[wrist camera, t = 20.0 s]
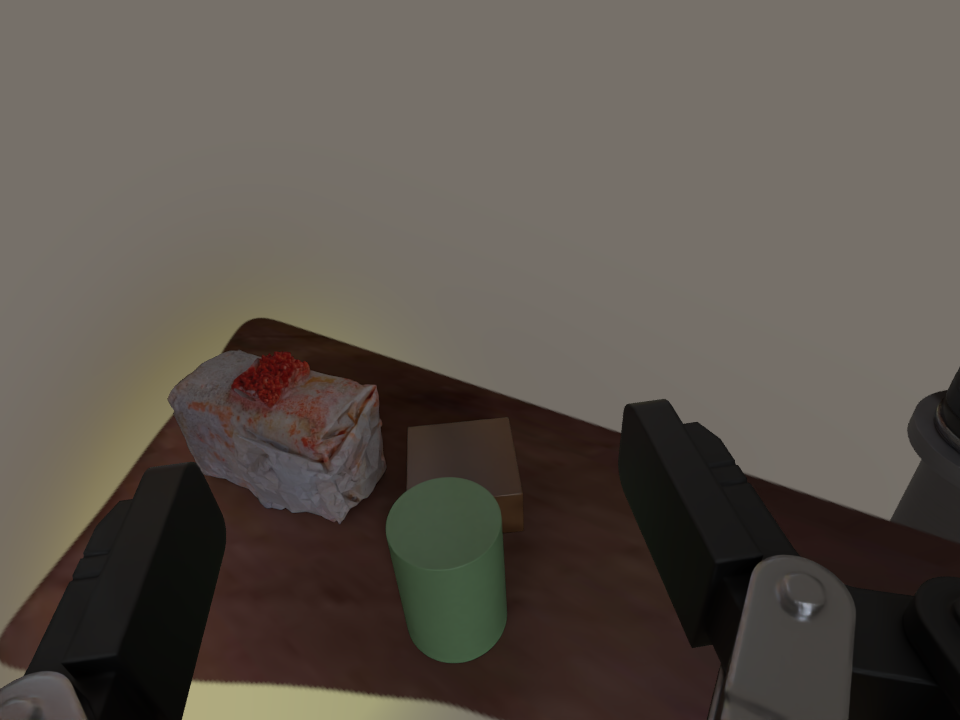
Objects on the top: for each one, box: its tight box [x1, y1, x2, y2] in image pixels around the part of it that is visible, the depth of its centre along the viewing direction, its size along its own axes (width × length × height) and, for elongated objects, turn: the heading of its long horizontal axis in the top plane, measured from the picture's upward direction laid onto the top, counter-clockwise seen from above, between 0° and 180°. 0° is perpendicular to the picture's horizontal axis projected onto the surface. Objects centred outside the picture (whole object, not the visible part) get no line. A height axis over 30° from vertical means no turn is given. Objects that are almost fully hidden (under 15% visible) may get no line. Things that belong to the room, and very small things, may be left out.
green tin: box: [386, 477, 507, 663], centre depth 31 cm, size 6×6×8 cm
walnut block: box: [406, 417, 524, 533], centre depth 39 cm, size 7×7×4 cm
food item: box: [168, 350, 387, 524], centre depth 40 cm, size 14×8×10 cm, turn 67°
